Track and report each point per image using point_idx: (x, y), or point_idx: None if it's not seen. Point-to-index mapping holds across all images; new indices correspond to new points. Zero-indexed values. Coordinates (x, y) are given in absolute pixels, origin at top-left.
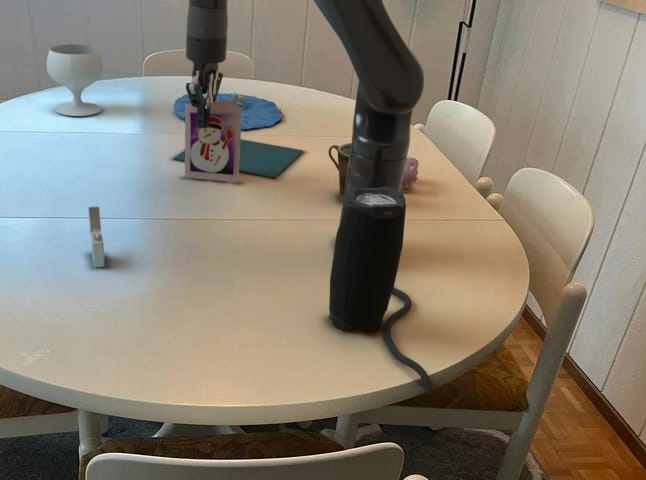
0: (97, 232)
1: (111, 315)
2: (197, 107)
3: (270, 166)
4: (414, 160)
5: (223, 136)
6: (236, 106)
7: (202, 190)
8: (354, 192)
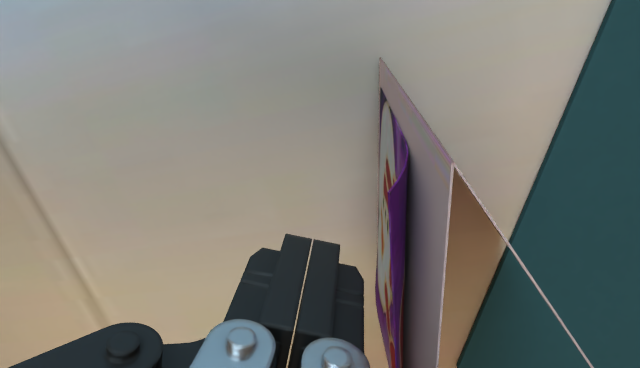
0: None
1: None
2: (184, 350)
3: (572, 353)
4: None
5: (392, 326)
6: None
7: (271, 155)
8: None
